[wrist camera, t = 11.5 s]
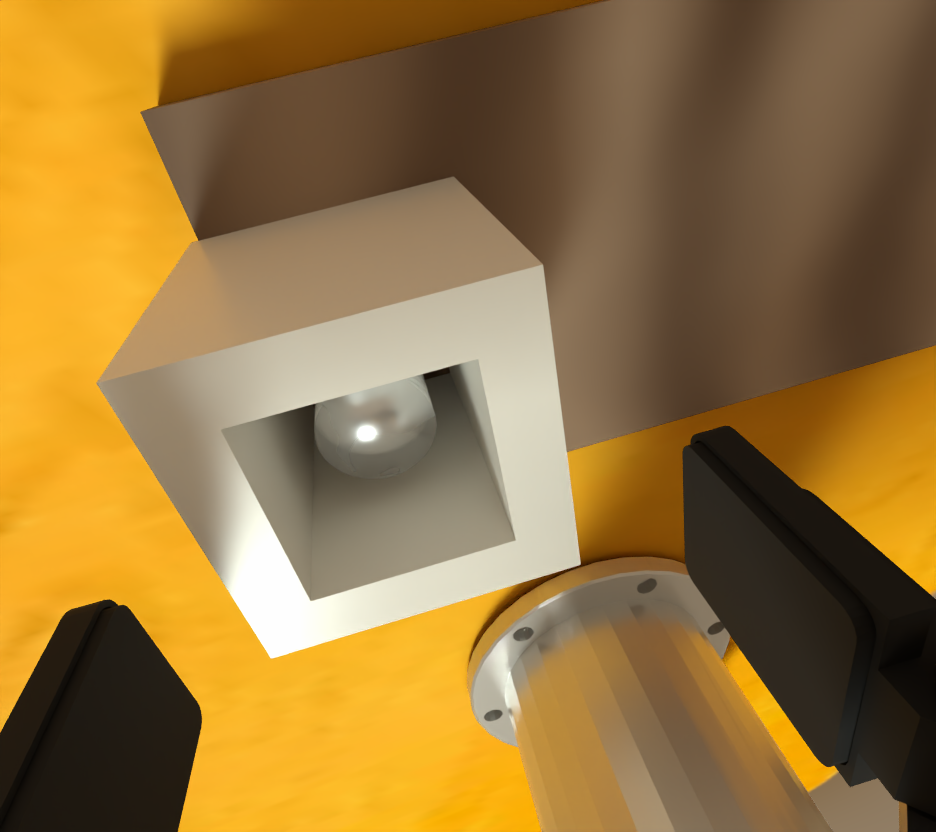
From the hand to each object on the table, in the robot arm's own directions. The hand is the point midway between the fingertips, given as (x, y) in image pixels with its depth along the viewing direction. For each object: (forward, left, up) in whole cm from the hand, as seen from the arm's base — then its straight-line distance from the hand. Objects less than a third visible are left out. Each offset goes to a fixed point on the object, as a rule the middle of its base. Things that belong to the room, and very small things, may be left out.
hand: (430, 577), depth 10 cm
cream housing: (+1, 0, -8) cm, 8 cm away
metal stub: (+1, 0, -8) cm, 8 cm away
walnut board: (-5, -8, -10) cm, 14 cm away
